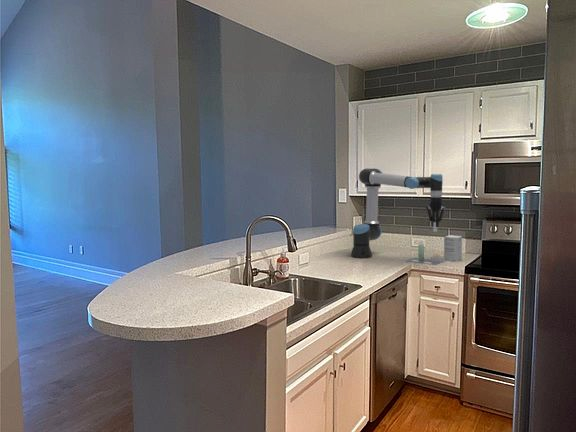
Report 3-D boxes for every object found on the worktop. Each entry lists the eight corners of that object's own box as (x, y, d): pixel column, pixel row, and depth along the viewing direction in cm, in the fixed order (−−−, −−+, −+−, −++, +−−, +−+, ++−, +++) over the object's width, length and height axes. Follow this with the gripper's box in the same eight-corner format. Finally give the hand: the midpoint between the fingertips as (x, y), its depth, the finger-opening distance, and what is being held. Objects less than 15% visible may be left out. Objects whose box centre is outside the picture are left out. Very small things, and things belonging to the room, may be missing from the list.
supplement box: (448, 258, 293) (448, 235, 292) (462, 260, 288) (462, 235, 286) (443, 261, 286) (443, 236, 285) (457, 262, 280) (457, 237, 279)
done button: (433, 260, 282) (433, 255, 281) (435, 260, 284) (435, 254, 284) (438, 261, 279) (438, 255, 279) (440, 260, 282) (440, 254, 282)
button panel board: (404, 262, 285) (404, 256, 285) (414, 258, 297) (414, 252, 297) (435, 266, 270) (435, 259, 270) (445, 262, 282) (445, 256, 282)
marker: (417, 261, 283) (417, 243, 282) (419, 260, 286) (419, 243, 285) (422, 262, 281) (422, 244, 280) (424, 261, 283) (424, 243, 282)
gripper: (424, 196, 284) (423, 231, 286) (443, 197, 275) (442, 233, 277) (429, 196, 289) (428, 230, 291) (447, 197, 280) (446, 231, 283)
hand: (435, 231), depth 284 cm, fingers closed
